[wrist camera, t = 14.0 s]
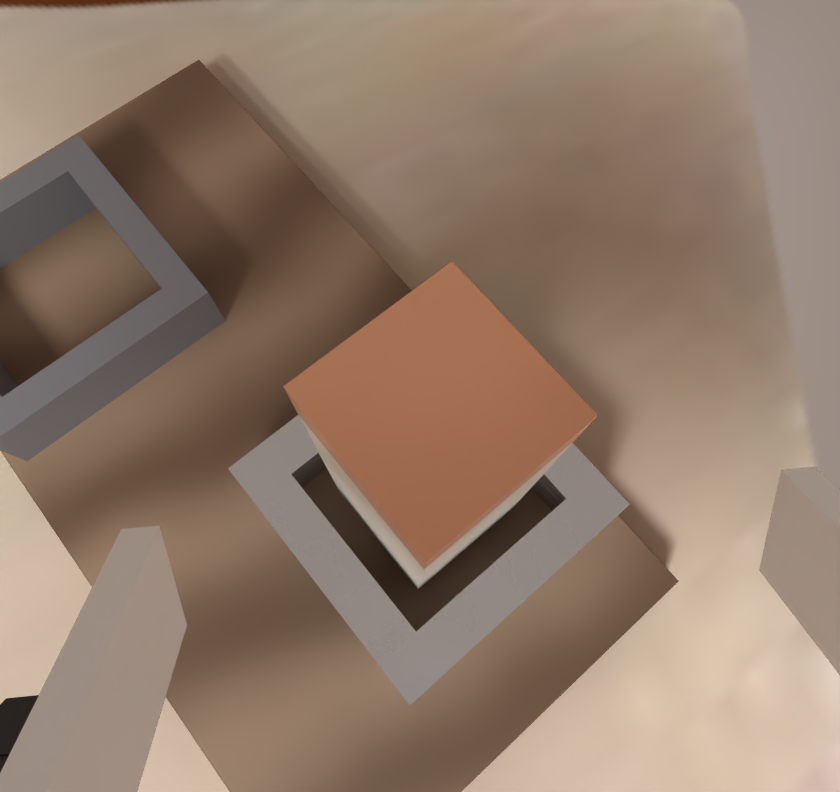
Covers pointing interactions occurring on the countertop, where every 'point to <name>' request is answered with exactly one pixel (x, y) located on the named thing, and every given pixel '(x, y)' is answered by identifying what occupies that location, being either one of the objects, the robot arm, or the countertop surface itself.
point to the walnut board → (247, 526)
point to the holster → (120, 340)
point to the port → (471, 607)
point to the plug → (436, 420)
